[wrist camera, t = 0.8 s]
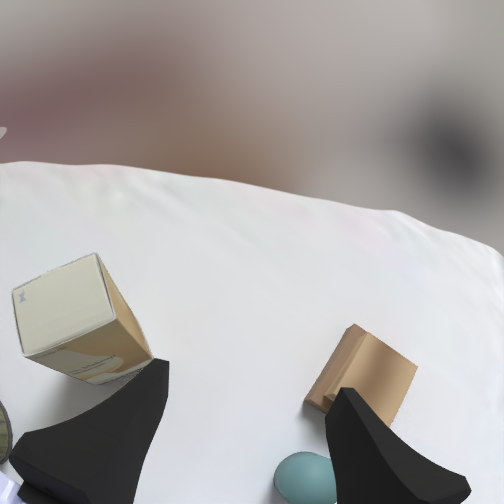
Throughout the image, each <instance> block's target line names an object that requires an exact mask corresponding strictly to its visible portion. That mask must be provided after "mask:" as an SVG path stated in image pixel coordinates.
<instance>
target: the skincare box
mask: <svg viewBox="0 0 504 504" xmlns="http://www.w3.org/2000/svg"><path fill="white" fill-rule="evenodd" d="M11 295H12V303H13V310H14V317H15V323H16V329H17V334H18V338H19V342H20V346H21V350H22V354H23V356H24V357H25V358H28V359H30V360H32V361H35V362H37V363H39V364H42V365H44V366H46V367H49V368H51V369H54V370H56V371H59V372H61V373H64V374H66V375H69V376H72V377H75V378H77V379H80V380H83V381H86V382H89V383H92V384H94V385H99V384H102V383H105V382H108V381H111V380H114V379H116V378H119V377H121V376H124V375H127V374H129V373H131V372H133V371H136V370H138V369H140V368H142V367H144V366H147V365H148V364H149V363H150V362H151V361H152V360H153V359H154V357H153V355H152V352H151V350H150V348H149V345H148V343H147V340H146V338H145V335H144V333H143V331H142V329H141V326H140V324H139V322H138V320H137V319H136V317H135V315H134V314H133V312H132V311H131V309H130V308H129V306H128V305H127V303H126V301H125V300H124V298H123V296H122V295H121V293H120V292H119V290H118V288H117V287H116V285H115V283H114V282H113V280H112V278H111V276H110V275H109V273H108V271H107V269H106V268H105V266H104V264H103V262H102V260H101V259H100V257H99V255H98V253H95V252H93V253H91V254H89V255H86V256H84V257H81V258H79V259H77V260H75V261H72V262H70V263H68V264H65V265H63V266H60V267H58V268H55V269H53V270H50V271H48V272H46V273H44V274H43V275H41V276H39V277H37V278H35V279H32V280H30V281H28V282H26V283H24V284H22V285H20V286H18V287H16V288H13V289H12V290H11Z"/></svg>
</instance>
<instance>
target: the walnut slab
mask: <svg viewBox="0 0 504 504" xmlns="http://www.w3.org/2000/svg"><path fill="white" fill-rule="evenodd" d="M365 333H367V332H366V331H365V330H364V329H362V328H361V327H359V326H358V325H356V324H353V325H352V326H350V327H349V328H347V329H346V331H345V333H344V335H343V337H342V338H341V340H340V342H339V344H338V345H337V347H336V349H335V350H334V352H333V354H332V356H331V357H330V359H329V361H328V362H327V364H326V366H325V367H324V369H323V371H322V372H321V374H320V375H319V377H318V379H317V380H316V382H315V383H314V385H313V387H312V388H311V390H310V391H309V393H308V394H307V396H306V397H305V399H304V401H306V402H307V403H309V404H311V405H312V406H314V407H316V408H317V409H319V410H321V411H322V412H324V413H326V414H327V413H328V411H329V409H330V407H331V406H332V404H333V401H332V400H330V399H329V398H327V397H325V396H324V394H325V392H326V390H327V389H328V387H329V386H330V384H331V382H332V381H333V379H334V378H335V376H336V374H337V373H338V371H339V369H340V368H341V366H342V364H343V362H344V361H345V359H346V357H347V355H348V354H349V352H350V350H351V348H352V347H353V345H354V343H355V341H356V339H357V338H359V337H360V336H362V335H364V334H365Z"/></svg>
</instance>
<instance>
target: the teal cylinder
mask: <svg viewBox="0 0 504 504" xmlns="http://www.w3.org/2000/svg"><path fill="white" fill-rule="evenodd" d="M274 483H275V486H276V488H277V490H278V491H279V492H280V494H281V495H282V496H283V497H284V498H285V499H286V500H287V501H288V502H289V503H290V504H335V503H336V502H337V494H336V482H335V476H334V471H333V466H332V462H331V459H329V458H326V457H323V456H320V455H317V454H314V453H311V452H299V453H295V454H292V455H290V456H288V457H287V458H285V459H284V460H283V461H282V462H281V463H280V464H279V465H278V467H277V469H276V471H275V475H274Z"/></svg>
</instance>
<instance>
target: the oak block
mask: <svg viewBox="0 0 504 504" xmlns="http://www.w3.org/2000/svg"><path fill="white" fill-rule="evenodd" d="M417 368H418V366H416V365H415V364H414V363H412V362H411V361H409V360H408V359H406V358H405V357H404V356H402V355H401V354H399V353H398V352H396V351H395V350H394V349H392V348H391V347H389V346H388V345H386V344H385V343H384V342H382V341H381V340H379V339H378V338H376V337H375V336H374V335H372V334H371V333H369V332H367V333H365V334H364V335H362V336H360V337H359V338H357V339H356V341H355V343H354V345H353V347H352V348H351V350H350V352H349V354H348V355H347V357H346V359H345V361H344V362H343V364H342V366H341V368H340V369H339V371H338V373H337V374H336V376H335V378H334V379H333V381H332V382H331V384H330V386H329V387H328V389H327V390H326V392H325V394H324V396H325V397H327V398H329V399H330V400H332V401H333V402H334V400H335V398H336V396H337V394H338V392H339V390H340V388H341V387H349V388H354V389H355V390H356V391H357V392H358V393H359V394H360V396H361V397H362V398H363V399H364V400H365V402H366V403H367V404H368V405H369V406H370V407H371V409H372V410H373V411H374V412H375V413H376V414H377V416H378V417H379V418H380V419H381V420H382V421H383V422H384V423H385V424H386V425H387V426H388V427H390V425H391V423H392V421H393V419H394V418H395V416H396V414H397V412H398V410H399V408H400V406H401V404H402V401H403V399H404V397H405V395H406V393H407V391H408V389H409V386H410V384H411V382H412V380H413V377H414V375H415V373H416V370H417Z"/></svg>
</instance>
